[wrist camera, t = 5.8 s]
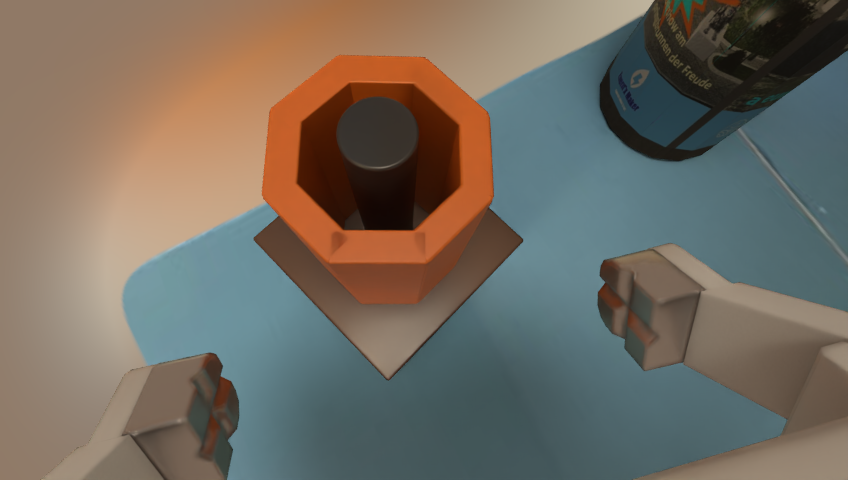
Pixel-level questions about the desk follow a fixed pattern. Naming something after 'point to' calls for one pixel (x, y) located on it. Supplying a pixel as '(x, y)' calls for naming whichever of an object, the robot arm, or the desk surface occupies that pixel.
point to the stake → (387, 210)
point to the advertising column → (714, 68)
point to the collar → (331, 191)
